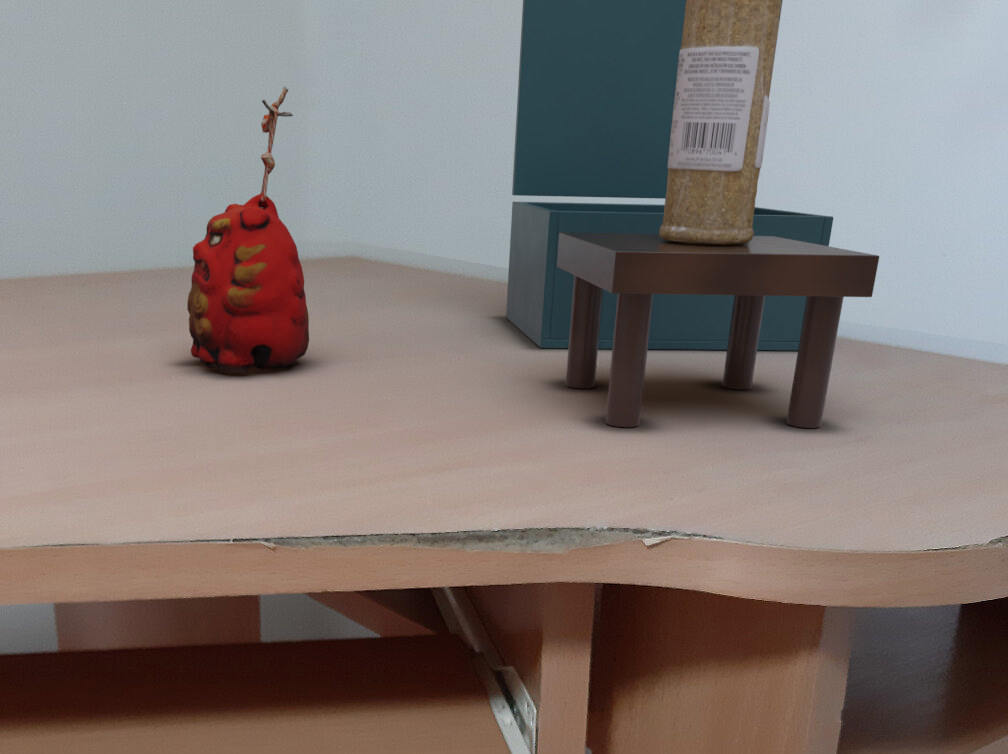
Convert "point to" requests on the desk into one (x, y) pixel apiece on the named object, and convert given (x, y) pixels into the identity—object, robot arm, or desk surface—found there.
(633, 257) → the stool
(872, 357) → the desk surface
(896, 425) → the desk surface
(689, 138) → the tan spice jar
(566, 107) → the chest lid
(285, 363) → the red clay folk toy
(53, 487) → the desk surface
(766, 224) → the chest
